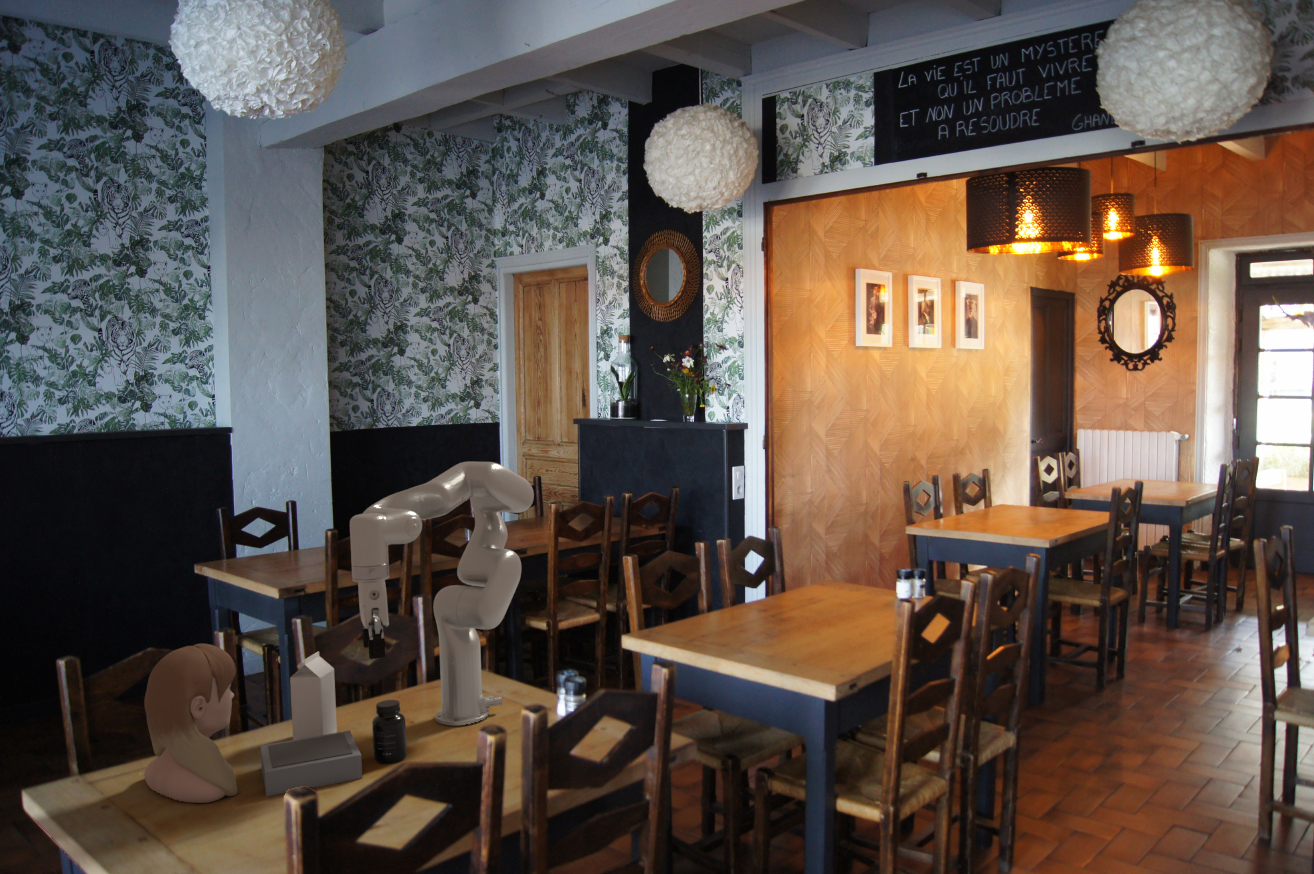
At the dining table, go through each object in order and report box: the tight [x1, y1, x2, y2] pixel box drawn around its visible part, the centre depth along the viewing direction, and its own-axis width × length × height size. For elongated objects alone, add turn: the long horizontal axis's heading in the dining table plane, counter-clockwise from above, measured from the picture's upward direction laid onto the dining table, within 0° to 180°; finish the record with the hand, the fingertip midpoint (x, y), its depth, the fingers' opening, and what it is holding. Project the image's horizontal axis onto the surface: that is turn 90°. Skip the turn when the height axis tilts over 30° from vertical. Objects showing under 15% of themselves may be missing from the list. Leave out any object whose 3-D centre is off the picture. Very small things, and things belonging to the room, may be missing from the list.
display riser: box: [260, 730, 363, 797], centre depth 196 cm, size 18×16×5 cm
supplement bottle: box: [371, 699, 408, 765], centre depth 203 cm, size 7×7×12 cm
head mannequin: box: [143, 643, 239, 804], centre depth 191 cm, size 25×17×28 cm
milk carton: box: [289, 651, 338, 740], centre depth 216 cm, size 7×7×19 cm
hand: (374, 651), depth 203 cm, fingers open, 9 cm apart
